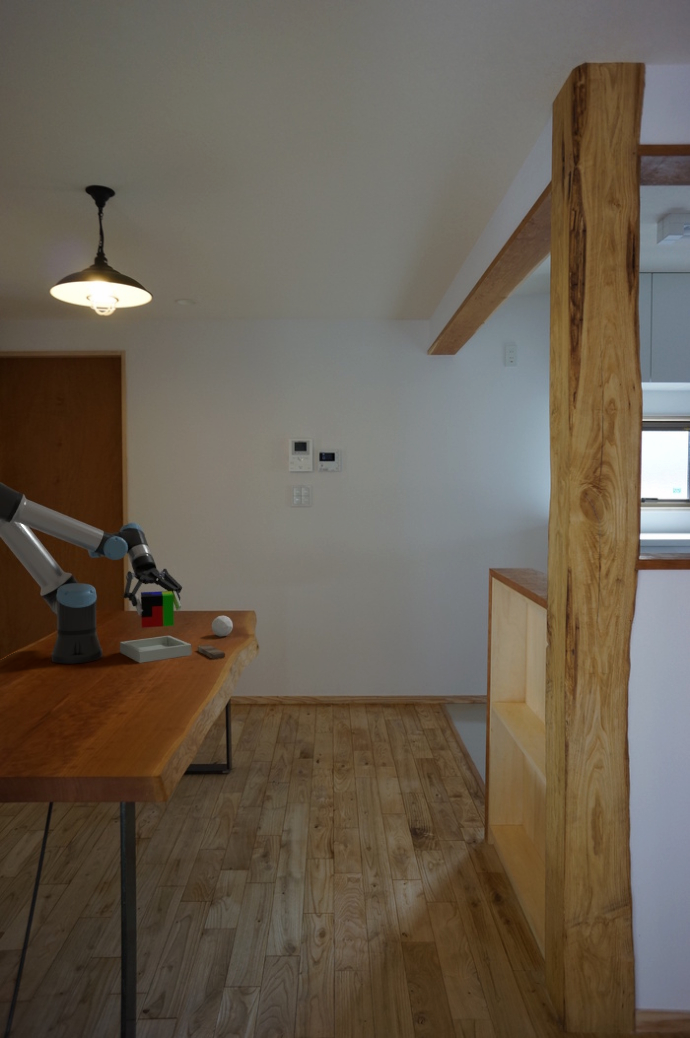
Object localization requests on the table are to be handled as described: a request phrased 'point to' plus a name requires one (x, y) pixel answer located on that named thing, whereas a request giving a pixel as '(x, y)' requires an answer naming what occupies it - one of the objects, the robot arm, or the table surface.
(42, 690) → the table surface
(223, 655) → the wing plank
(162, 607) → the puzzle toy
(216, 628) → the geometric ball
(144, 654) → the white square tray
